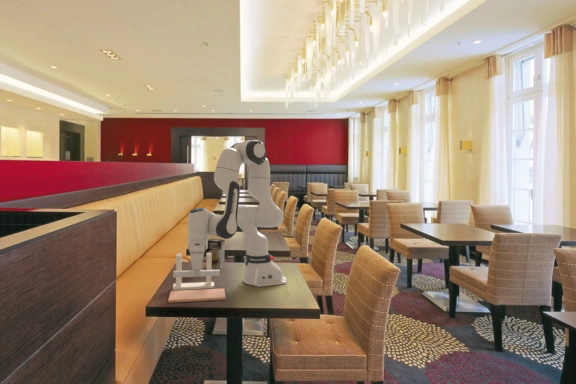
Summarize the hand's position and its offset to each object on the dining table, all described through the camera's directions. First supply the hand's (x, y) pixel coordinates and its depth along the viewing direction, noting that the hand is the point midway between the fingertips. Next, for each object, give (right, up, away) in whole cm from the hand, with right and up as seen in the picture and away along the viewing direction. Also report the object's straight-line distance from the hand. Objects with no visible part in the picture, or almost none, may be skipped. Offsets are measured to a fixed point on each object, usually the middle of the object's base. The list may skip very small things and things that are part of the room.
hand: (197, 275), depth 162 cm
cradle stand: (-5, -9, +13) cm, 16 cm away
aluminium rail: (0, 0, 0) cm, 0 cm away
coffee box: (-2, -7, +48) cm, 49 cm away
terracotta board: (0, -10, +1) cm, 10 cm away
